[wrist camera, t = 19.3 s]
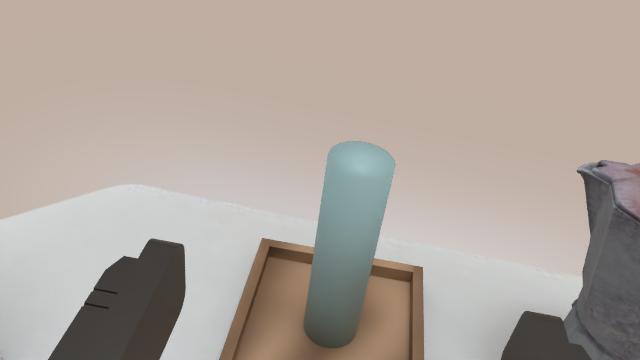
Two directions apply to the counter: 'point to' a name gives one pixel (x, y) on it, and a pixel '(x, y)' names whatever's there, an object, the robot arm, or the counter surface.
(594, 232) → the moka pot
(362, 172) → the dowel pin
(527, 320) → the robot arm
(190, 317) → the counter surface
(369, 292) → the tray
